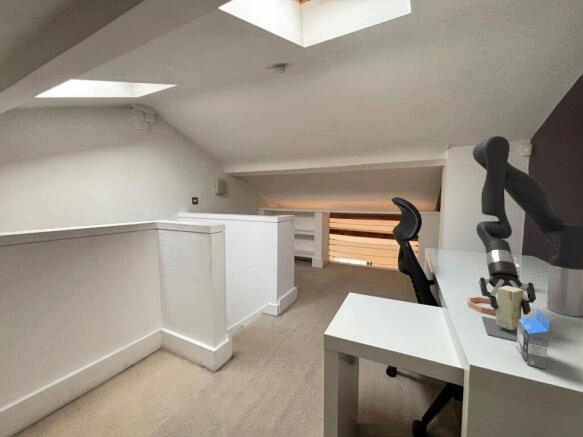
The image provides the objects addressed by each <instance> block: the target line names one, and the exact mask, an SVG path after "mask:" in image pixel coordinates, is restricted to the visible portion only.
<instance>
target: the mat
mask: <svg viewBox="0 0 583 437" xmlns="http://www.w3.org/2000/svg"><path fill="white" fill-rule="evenodd" d="M481 318H482V320H481V321H482V323H483V326H484V329H485V332H486V335H487V336H489V337H494V338H499V339H502V340H508V341H511V342H516V343H517V331H518V328H516V329H514V330H509V329H507V328H504V327H501V326H499V325H496V318H492V317H487V316H482V315H481Z"/></svg>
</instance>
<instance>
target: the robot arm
mask: <svg viewBox="0 0 583 437" xmlns="http://www.w3.org/2000/svg"><path fill="white" fill-rule="evenodd" d="M510 148H511V145H510V142H509V141H508V139H507V138H506V137H504V136H501V135H496V136H492V137H489V138H487V139H485V140H483V141H481V142H479V143H478V144H477V145H476V146H474V148H473V149H472V156H473V159H474V161H475V162H476V163H477V164H478V165H480V166H481V167H482V168H483V170H486V175H485V179H484V182H483V183H484V184H483V187H482V191H481V196H480V197H481V198H480V199H481V200H480V201H481V213H482V215H484V216H492V217H496V218H497V220H495V221H494V220H490V221H489V220H486V221H484V220H483V221H480V222H479V223H477V225H476V228H475V229H476V234H477V235H478V238H479V239H480V241H481V242H482V244H483V246H484V249H485V254H486V266H487V269H488V276H489V278H484V276H483V277H479V281H478V284H479V288H480V293H481V296H482V297H485V298H489V299H490V304H489V305H490V308H492V309H494V310H497V308H498V305H497V297H496V296H497V295H498V288H500V287H504V286H511V287H515V288H519V289H521V288H523V290H524V291H526V294H525V293H524V292H523V294H522V314H523V315H524V316H525V315H529V314H530V313H531V310H532V309H531V306H530V304H534V302H535V300H537V295H536V291H535V286H534V285H535V284H534V283H533V282H528V283H526V282H525V283H524V282H522V281H521V280H519V278H518V274H517V270H516V266H515V262H514V259H513V258H514V256H513V255H512V250H511V246H510V243H509V242H508V241H507V240H508V239H509V238H510V237H511V236H512V234H513V229H512V226H511V224H510V221H509V219H508V217H507V213H506V205H505V204H506V201H505V198H506V197H505V191H506V193H507V194H508V196H510V197H511V199H512V200H513V201H514V202H515V203H516V204H517V205H518V206H519V207H520V209H522V210H523V212H524V213H525V214H526V215H527V216H528V217H529V218H530V219H531V220H532V222H534V223H535V225H536V226H537V227H538V229H539V231H540V232H541V233H542V235H543V236H544V238H545V239H546V240H547V242H548V243H550V244H551V245H553V246H555V247H558V252H557V255H554V256H551V257H550V258H549V262H548V263H549V265H548V281H547V282H548V284H547V296H546V297H547V300H546V308H547V310H549V311H552V312H554V313H557V314H561V315H565V316H570V317H583V225H582V224H574V223H573V224H572V223H567V222H566V221H565V220H564V219H562V218H561V217H560V216H559V215H558V214H557V213H556V212H555V210H554V208H553V206H552V201H551V197H550V194H549V193H548V191H547V190H546V189H545V187H544V186H543V185H542V184H541V183H540V182H539V181H538V180H537V179H536V178H535V177H533V176H532V175H531V174H529V173H526V172H525V171H523V170H520V169H519V168H517V167H515V166H513V165H512V164H511V163H509V155H510ZM488 284H490V286H492V287H493V289H492V290H491V292H490V291H489V290H488V288H487V286H488Z"/></svg>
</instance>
